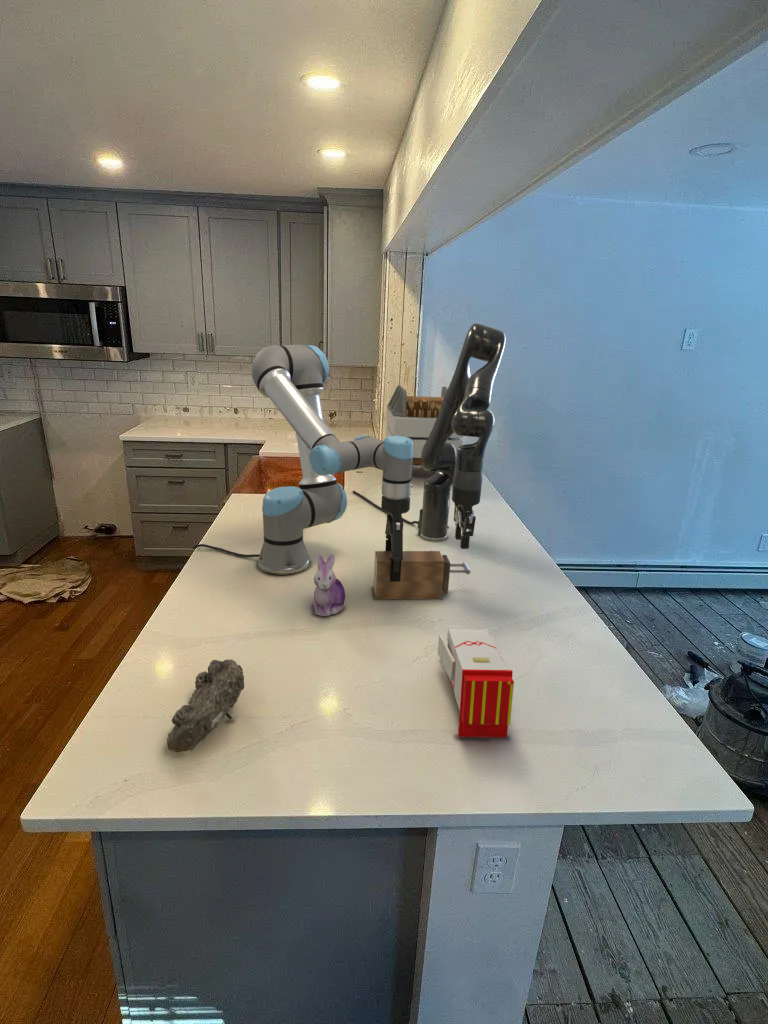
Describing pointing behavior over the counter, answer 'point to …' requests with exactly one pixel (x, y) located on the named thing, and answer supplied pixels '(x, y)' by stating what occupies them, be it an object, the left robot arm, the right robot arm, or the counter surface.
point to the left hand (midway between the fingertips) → (392, 570)
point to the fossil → (206, 705)
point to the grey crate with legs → (415, 419)
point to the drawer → (448, 571)
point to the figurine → (327, 589)
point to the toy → (478, 682)
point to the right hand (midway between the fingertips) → (461, 543)
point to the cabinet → (409, 575)
